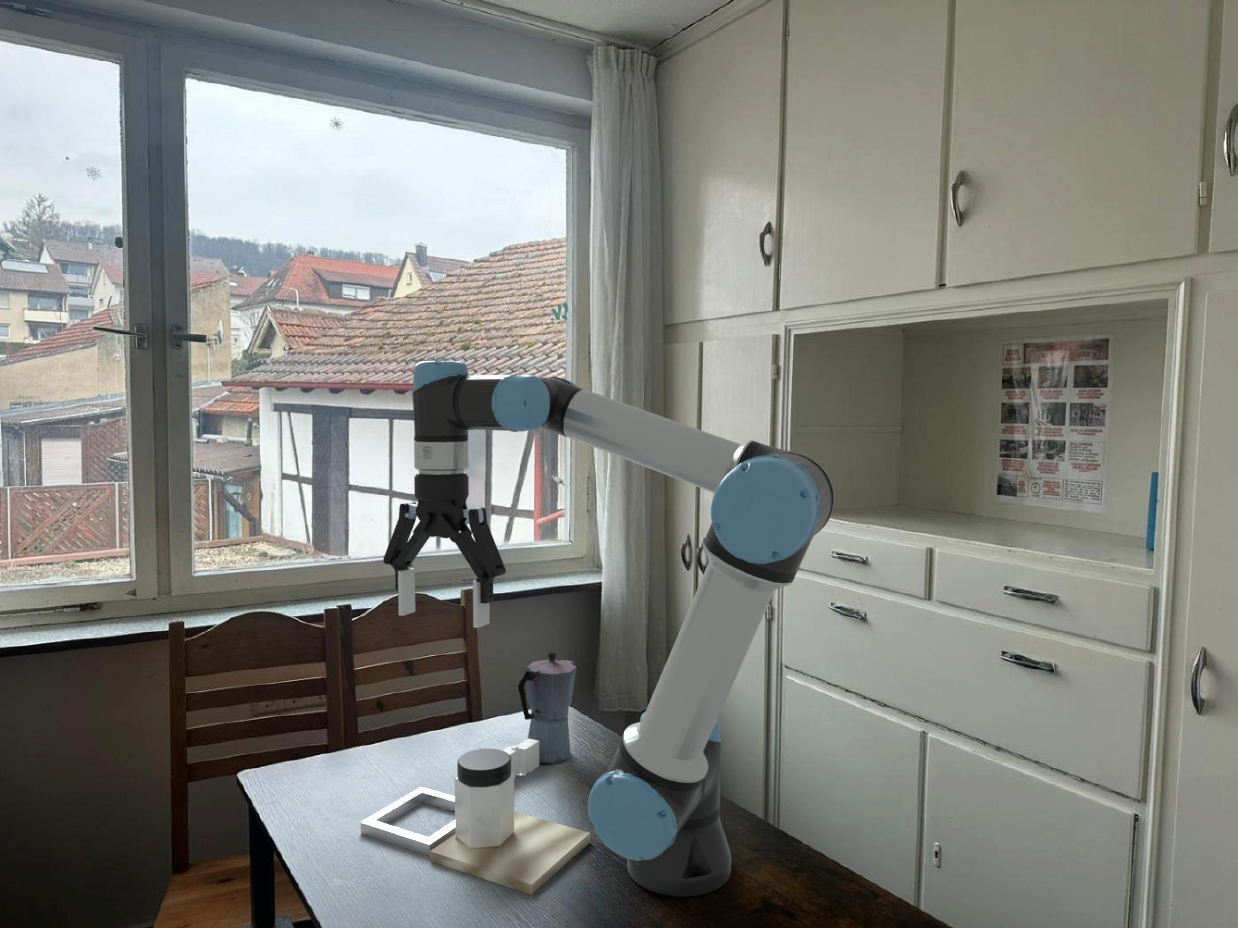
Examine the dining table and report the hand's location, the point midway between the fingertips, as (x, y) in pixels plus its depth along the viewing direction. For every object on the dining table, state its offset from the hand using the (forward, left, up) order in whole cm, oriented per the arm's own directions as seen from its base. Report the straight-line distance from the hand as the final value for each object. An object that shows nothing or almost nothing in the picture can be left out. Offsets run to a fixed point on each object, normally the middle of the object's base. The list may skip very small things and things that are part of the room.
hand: (443, 619), depth 122 cm
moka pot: (+8, -39, -37) cm, 55 cm away
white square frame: (+11, -8, -37) cm, 39 cm away
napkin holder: (+8, -30, -38) cm, 49 cm away
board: (-6, -8, -37) cm, 38 cm away
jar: (-1, -8, -35) cm, 36 cm away
